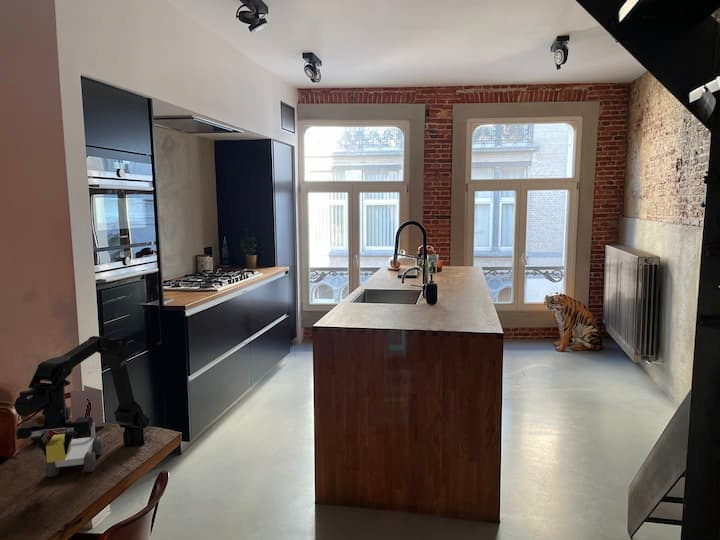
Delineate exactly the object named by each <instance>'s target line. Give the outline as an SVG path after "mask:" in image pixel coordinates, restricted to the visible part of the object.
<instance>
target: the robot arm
mask: <svg viewBox="0 0 720 540" xmlns="http://www.w3.org/2000/svg"><path fill="white" fill-rule="evenodd" d="M96 353H98V354H100V356H101V359H102V361H103V362H104V363H105V365H106V366H108V368H109V369H110V372H111V378H112V382H113V385H114V389H115V393H116V397H117V400H118V405H117V409H116V410H114V411H113V414H114V417H115V422H116V423H117V424H119V425H118V426H119V428H121V429H122V428H124V430H123V432H122V438H123V440H122V441H123V444H124V448H132V447H139V446H144V445H145V442H146V441H147V436H146V429H147V428H148V426H149V425H150V419H151V418H149V417H148V416H146V415H145V414H144V411H143V409H142V407H141V405H140V404H139V403H138V402H137V401H136V399H135V397H134V392H133V388H132V384H131V380H130V377H129V372H128V367H127V362H128V360H129V358H130V354H129V353H130V351H129V346H128V344H127V343H126V342H125V341H115V340H113V339H109V338H107V337H105V336H102V335H101V336H100V335H99V336H98V335H92V336H90V337H88V338H87V340H85V341H83V342H82V343H80V344H78V345H77V346H76V347H73V349H71V350H69V351H68V352H66V353H64V354H63V355H60V356H55V357H51V358H49V359H46V360H44V361H42V362H40V363H39V364H38V365H37V368H36V371H35V372H34V374H33V376H32V379H31V381H30V383H29V384H28V388H29V389H27V390H22V391H20V392H19V396H18V397H17V398H16V400H15V403H13V404H14V405H13V406H14V411H15V412H16V413H17V415H18V416H20V417H22V418H25V417H29V416H31V415H34V414H35V413H38V412H41V415H42V417H43V424H39V423H38V422H37V421H29V422H27V421H26V422H23V423H22V424H21V425H20V426H19V427H18V428H17V429H16V431H15V438H16V440H23V439H29V438H30V441H33V442H35V444H37V445H38V446H39V448H40V449H41V451H42V452H43V455H44V456H46V458H47V455H46V445H47V444H48V443H49V441H48V436H47V431H54V430H63V429H66V432H65V433H64V434H65V455H67V454H68V450H69V447H70V444H71V440H72V438H73V439H74V437H75V436H77V434H79V433H87V432H89V431H91V427H92V425H93V419H92V418H91V417H90V416H87V417H78V418H77V419H76V421H75V422H72V421H69V420H70V419H71V418H72V407H67V403H66V392H65V391H66V390H65V388H66V387H67V386H69V385H71V382H70V381H69V380H67V378H68V377H69V376H70V375H71V374H72V372H73V369H74V368H75V367H77V366H78V365H79V364H81V363H83V362H84V361H85V360H87V359H88V358H90V357H91V356H93V355H95V354H96ZM38 424H39V425H38Z"/></svg>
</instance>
